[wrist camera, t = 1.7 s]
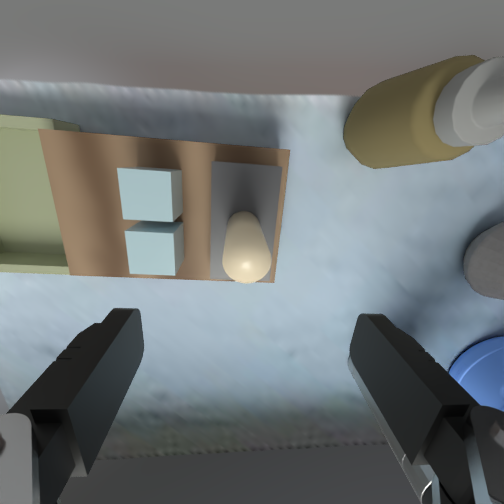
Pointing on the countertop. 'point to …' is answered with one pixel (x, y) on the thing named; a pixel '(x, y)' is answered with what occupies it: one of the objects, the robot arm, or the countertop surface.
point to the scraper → (243, 220)
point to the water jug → (482, 372)
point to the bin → (28, 199)
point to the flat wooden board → (109, 201)
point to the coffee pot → (486, 262)
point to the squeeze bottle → (428, 113)
